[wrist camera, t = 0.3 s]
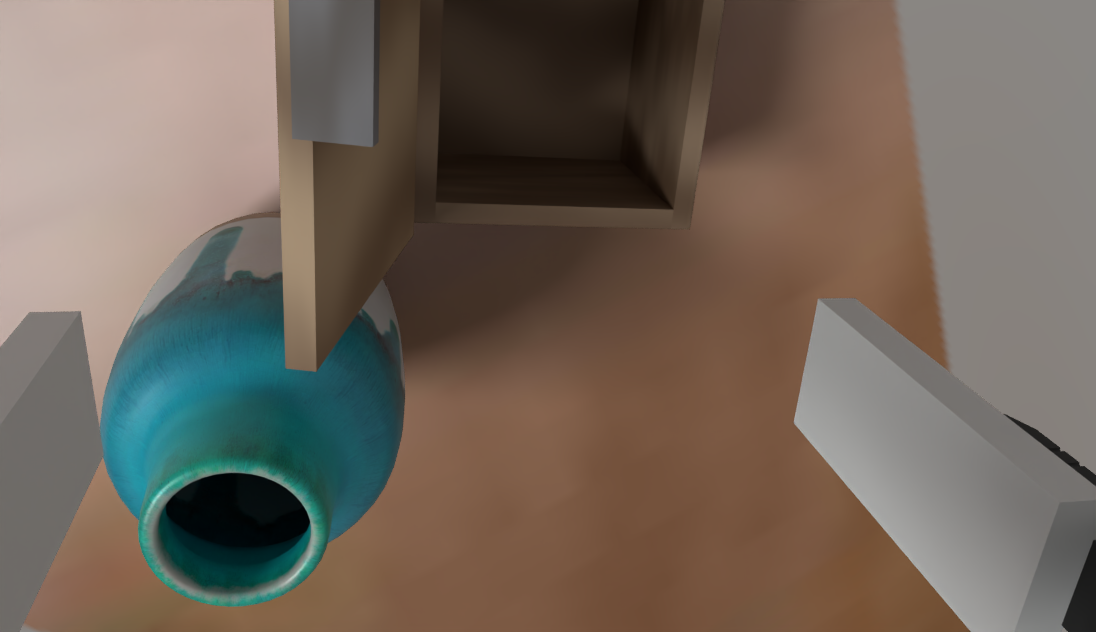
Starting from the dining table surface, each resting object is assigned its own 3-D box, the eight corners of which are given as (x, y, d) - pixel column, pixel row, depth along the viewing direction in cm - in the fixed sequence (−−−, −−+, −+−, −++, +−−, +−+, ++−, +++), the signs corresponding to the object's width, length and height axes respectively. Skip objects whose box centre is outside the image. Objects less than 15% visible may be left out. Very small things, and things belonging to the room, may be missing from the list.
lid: (479, -251, 27) (402, -257, 28) (378, -396, 16) (244, -407, 16) (455, 238, 34) (392, 231, 34) (370, 393, 22) (274, 382, 22)
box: (412, -203, 36) (426, -239, 28) (671, -171, 38) (755, -196, 30) (403, 164, 42) (413, 222, 34) (629, 173, 44) (689, 229, 36)
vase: (440, 287, 45) (491, 516, 27) (296, 427, 46) (257, 728, 29) (272, 137, 40) (206, 298, 23) (118, 297, 42) (-52, 560, 24)
